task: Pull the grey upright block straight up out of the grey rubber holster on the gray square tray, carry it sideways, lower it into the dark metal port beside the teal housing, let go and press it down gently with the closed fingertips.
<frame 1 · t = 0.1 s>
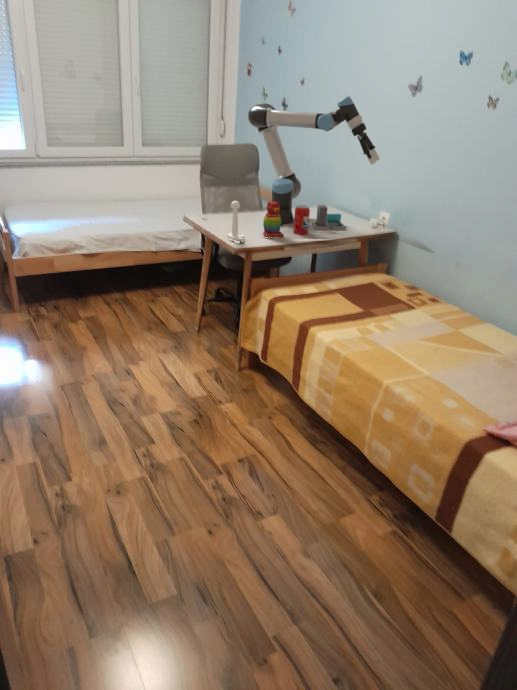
hand: (375, 162, 284), 36 cm above the table, tool tilted 35°, fingers open, 13 cm apart
port: (335, 229, 293), resting on gray square tray
gray square tray: (328, 229, 292), on the table
grey upright block: (320, 228, 291), point 1 cm above the table, touching gray square tray
stacking bear: (271, 236, 278), on the table
soda can: (300, 234, 282), on the table
joystick: (237, 240, 268), on the table
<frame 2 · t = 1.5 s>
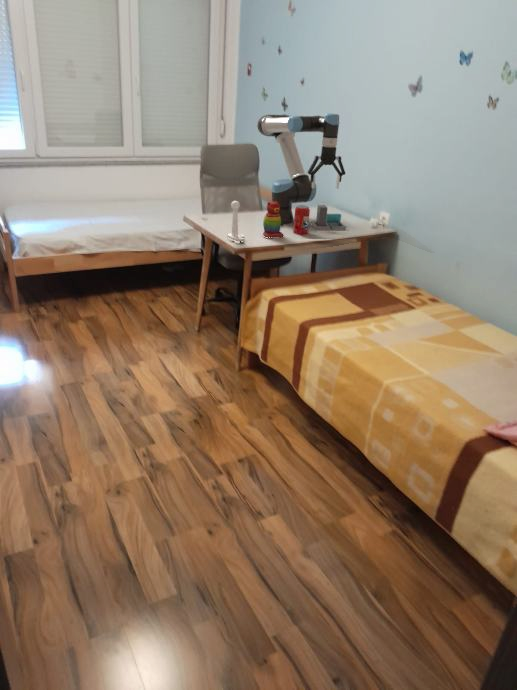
hand: (325, 188, 281), 23 cm above the table, tool pointing down, fingers open, 13 cm apart
nothing on the table moved.
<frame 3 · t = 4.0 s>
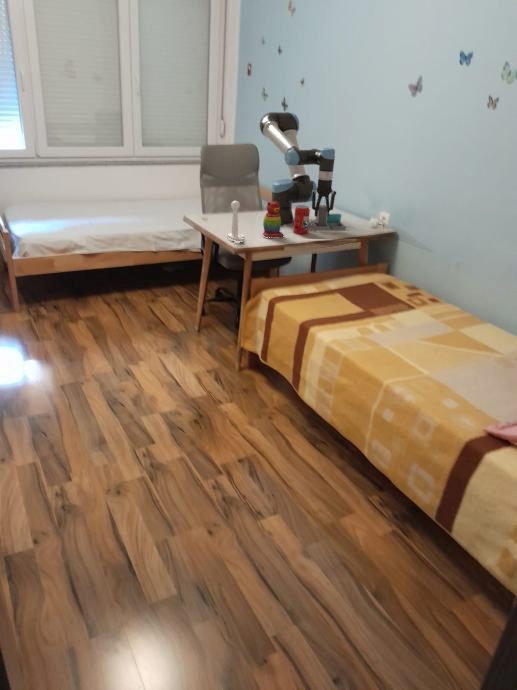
hand: (321, 222, 290), 4 cm above the table, tool pointing down, fingers closed on grey upright block, 4 cm apart
grey upright block: (320, 228, 291), point 1 cm above the table, touching gripper, gray square tray
everything else where it was.
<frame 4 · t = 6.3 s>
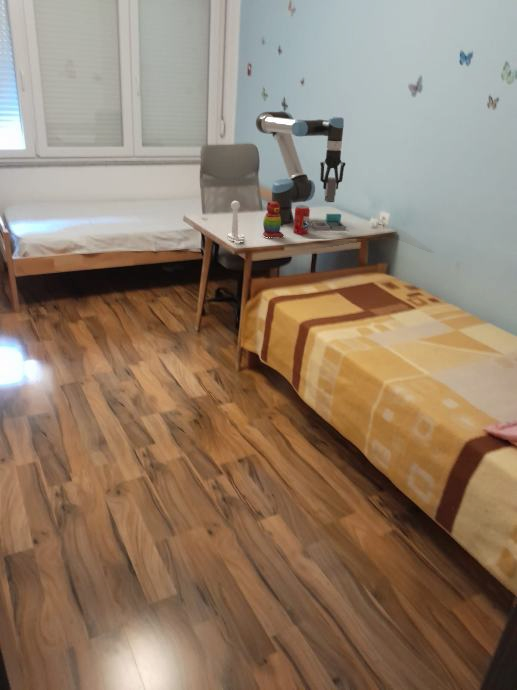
hand: (329, 195, 283), 19 cm above the table, tool pointing down, fingers closed on grey upright block, 4 cm apart
grey upright block: (329, 201, 284), point 16 cm above the table, touching gripper
everything else where it was.
when the fingers open (6 cm above the table, at t = 8.5 s): grey upright block drops 2 cm, resting on gray square tray.
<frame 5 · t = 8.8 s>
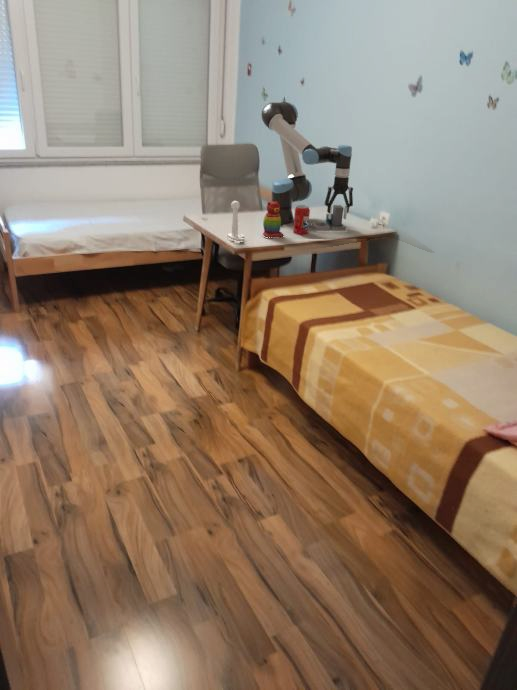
hand: (337, 218, 290), 6 cm above the table, tool pointing down, fingers open, 8 cm apart
grey upright block: (336, 228, 293), point 1 cm above the table, touching gray square tray
everything else where it was.
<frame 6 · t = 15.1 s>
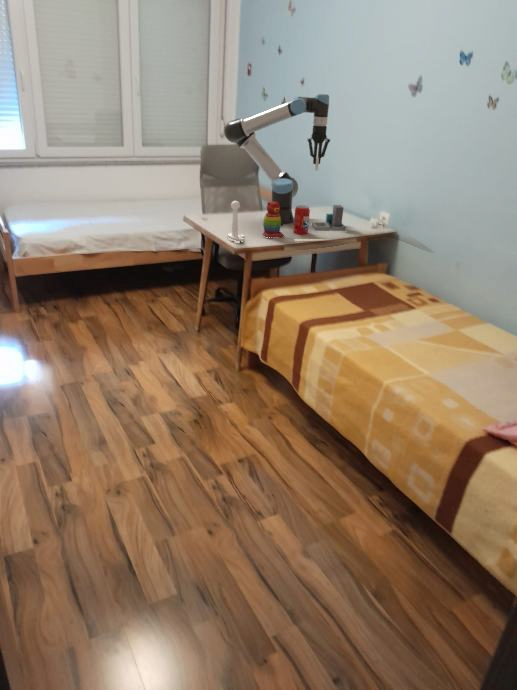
hand: (315, 169, 298), 28 cm above the table, tool pointing down, fingers closed
nothing on the table moved.
at the end: grey upright block 0.0 cm off-centre on the port, point 1.0 cm above the port's base; grey upright block tilted 0°; the gripper is holding nothing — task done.
